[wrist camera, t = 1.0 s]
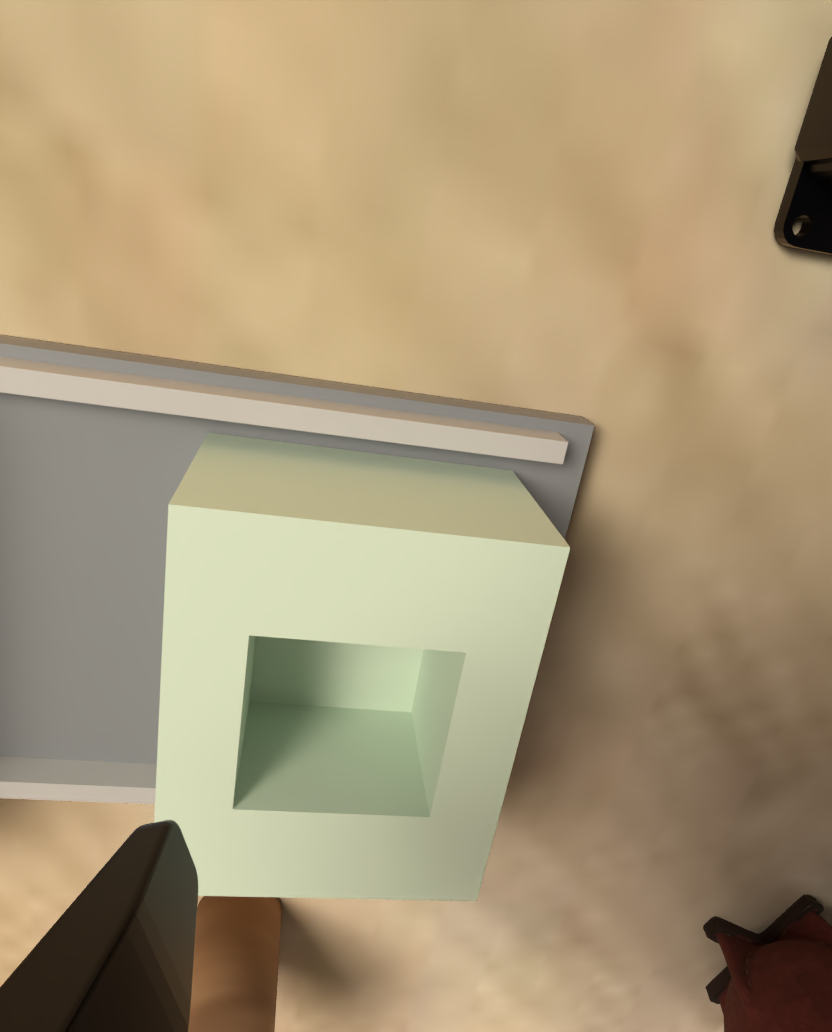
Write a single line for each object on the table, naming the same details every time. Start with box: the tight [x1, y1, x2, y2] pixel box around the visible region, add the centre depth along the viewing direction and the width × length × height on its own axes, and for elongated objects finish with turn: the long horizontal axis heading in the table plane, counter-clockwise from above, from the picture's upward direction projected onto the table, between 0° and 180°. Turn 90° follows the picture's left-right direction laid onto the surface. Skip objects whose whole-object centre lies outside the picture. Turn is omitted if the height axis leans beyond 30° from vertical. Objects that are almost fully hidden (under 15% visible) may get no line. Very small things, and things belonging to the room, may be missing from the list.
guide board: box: [0, 335, 594, 804], centre depth 18 cm, size 20×13×6 cm, turn 81°
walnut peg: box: [188, 896, 282, 1032], centre depth 22 cm, size 3×3×8 cm
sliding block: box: [154, 433, 570, 901], centre depth 18 cm, size 8×10×5 cm
